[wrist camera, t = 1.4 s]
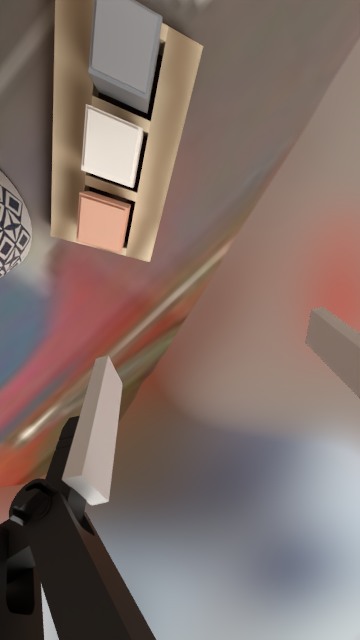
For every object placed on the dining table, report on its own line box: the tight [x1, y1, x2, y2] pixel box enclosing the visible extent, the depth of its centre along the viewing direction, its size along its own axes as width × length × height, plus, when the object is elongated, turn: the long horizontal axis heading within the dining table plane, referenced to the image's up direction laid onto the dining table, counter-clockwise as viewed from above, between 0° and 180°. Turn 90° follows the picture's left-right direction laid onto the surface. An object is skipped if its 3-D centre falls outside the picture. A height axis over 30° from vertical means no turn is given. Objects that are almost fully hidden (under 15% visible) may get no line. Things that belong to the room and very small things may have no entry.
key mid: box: [81, 104, 143, 188], centre depth 23 cm, size 5×5×5 cm
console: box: [51, 0, 203, 262], centre depth 26 cm, size 13×22×3 cm, turn 163°
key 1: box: [76, 191, 131, 253], centre depth 26 cm, size 5×5×5 cm
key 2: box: [88, 0, 162, 113], centre depth 19 cm, size 5×5×5 cm
